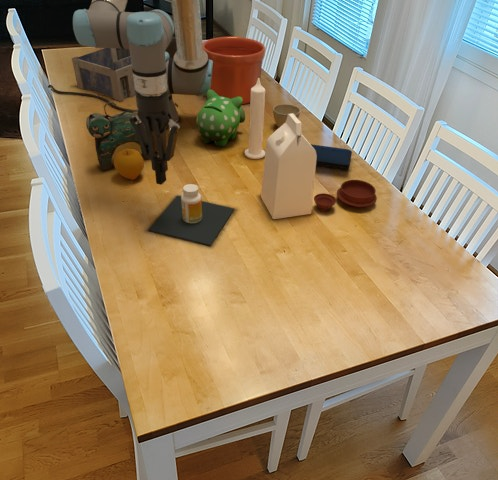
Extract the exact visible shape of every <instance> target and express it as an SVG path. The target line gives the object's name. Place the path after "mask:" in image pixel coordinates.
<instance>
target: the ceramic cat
mask: <svg viewBox="0 0 498 480" xmlns="http://www.w3.org/2000/svg"><path fill="white" fill-rule="evenodd" d="M110 103H111V104H113V105H115V106H117V104H116V103H115V102H113V101H110V102H106V103H105V104H104V106H103V109H104V110H103V111H104V114H102V113H99V112H93V113H90V114H89V115H88V116H87V117H86V120H85V124H86V126H85V127H86V129H87V131H88V133H89V134H90V136H91V137H93V138H94V146H95V147H94V148H95V153H96V157H97V162H98V165H99V168H100V169H101V170H102V171H109V170H111V169H112V167H113V166H112V162H113V156H114V154H115V152H116V150H117V148H118V147H121V146H123V145H125V144H127V143H134V144H137V145H139V147H140V152H141V156H142V158H143V159H145V160H151V159H150V158H149V157H148V156H146V157H145V156H144V155H143V152H142V149H141V146H140V144H139V141H138V138H137V135H136V132H135V129H134V127H133V126H132V124H131V123H130V121H129V119H130V118H132V117H133V116H134V115H137V112H138V109H130V110H127V111H123V112H119V113H117V114H114V115H112V116H111V115H110V114H107V112H106V106H108V105H110ZM130 111H133V112H130ZM143 126H144V124H143ZM144 129H145V126H144ZM145 132H146V131H145ZM146 135H147V134H146Z"/></svg>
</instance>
